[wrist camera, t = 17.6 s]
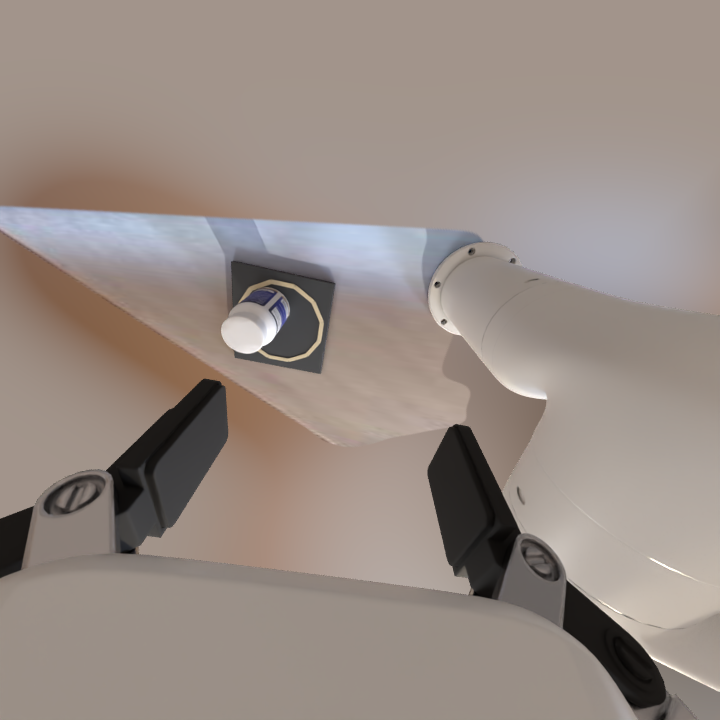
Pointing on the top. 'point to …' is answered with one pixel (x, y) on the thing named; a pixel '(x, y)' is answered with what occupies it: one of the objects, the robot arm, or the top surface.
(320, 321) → the board
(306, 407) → the top surface
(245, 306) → the pill bottle
